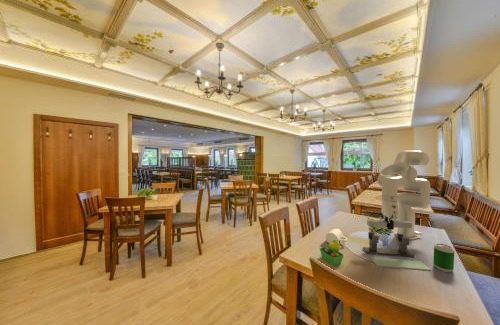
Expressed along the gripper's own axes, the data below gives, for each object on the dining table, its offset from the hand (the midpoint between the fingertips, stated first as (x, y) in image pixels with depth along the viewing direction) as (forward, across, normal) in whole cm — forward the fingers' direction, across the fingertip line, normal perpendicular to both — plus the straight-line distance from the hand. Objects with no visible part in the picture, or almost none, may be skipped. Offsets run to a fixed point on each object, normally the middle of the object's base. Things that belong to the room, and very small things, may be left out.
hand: (388, 227), depth 118 cm
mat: (+15, -13, +1) cm, 20 cm away
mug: (+15, +8, +27) cm, 32 cm away
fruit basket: (+15, -15, +36) cm, 41 cm away
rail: (-1, 0, 0) cm, 1 cm away
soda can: (+16, -14, -19) cm, 28 cm away
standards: (+15, -1, +1) cm, 15 cm away
